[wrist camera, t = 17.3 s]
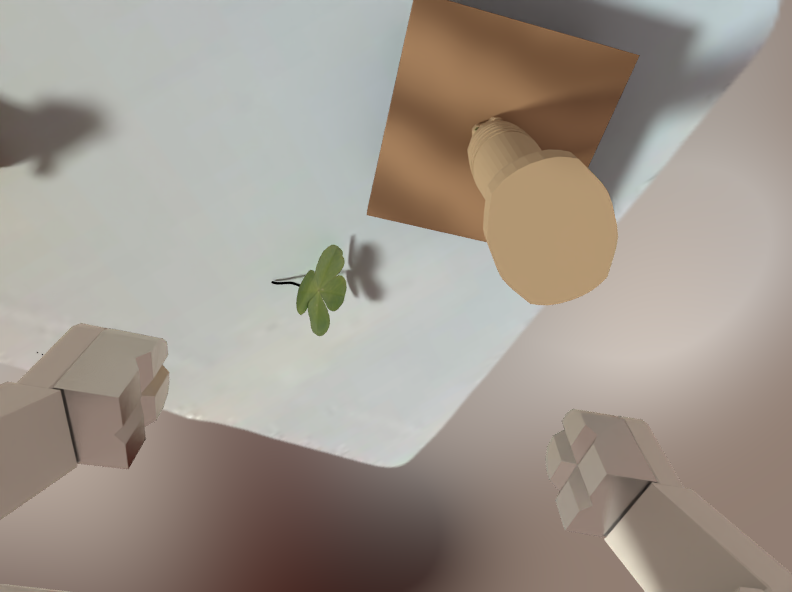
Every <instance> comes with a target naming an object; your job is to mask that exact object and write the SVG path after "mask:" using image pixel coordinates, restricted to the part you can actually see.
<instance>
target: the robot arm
mask: <svg viewBox="0 0 792 592" xmlns="http://www.w3.org/2000/svg"><path fill="white" fill-rule="evenodd" d="M167 356H168V347H167V341H165V340H164V339H163V338H157V337H152V336H147V335H142V334H137V333H132V332H127V331H122V330H116V329H111V328H109V329H108V328H103V327H98V326H93V325H88V324H83V323H80V324H77V325H75V326H73V327H71V328H70V329H69V330H68V331H67V332H66V333H65V334H64V335H63V336H62V337H61V338H60V339H59V340H58V341H57V342H56V343H55V344H54V345H53V346H52V347H51V348H50V350H49V351H48V352H47V353H46V354H45V355H44V356H43V357H42V358H41V359H40V360H39V361H38V362H37V363H36V364H35V365H34V366H33V367H32V368H31V369H30V370H29V371H28V372H27V373H26V374H25V375H24V376H23V377H22V378H21V379H20V380H19V381H18V382H17V383H12V382H5V383H3V384H0V520H1V519H2V518H4V517H5V516H7V515H8V514H10V513H11V512H13V511H14V510H15V509H17V508H18V507H20V506H21V505H23V504H24V503H25V502H27V501H28V500H30V499H31V498H33V497H34V496H36V495H37V494H39V493H40V492H41V491H43V490H44V489H46V488H47V487H49V486H50V485H51V484H53V483H54V482H56V481H57V480H59V479H60V478H62V477H63V476H64V475H66V474H67V473H69V472H70V471H72V470H73V469H75V468H76V467H77V464H85V465H94V466H103V467H112V468H120V469H129V467H130V466H131V464H132V462H133V461H134V459H135V457H136V455H137V454H138V452H139V450H140V448H141V447H142V445H143V443H144V441H145V440H146V437H145V427H146V426H148V425H149V424H151V423H153V422H154V421H156V420H157V418H158V416H159V415H160V413H161V411H162V409H163V407H164V404H165V401H166V398H167V395H168V390H169V382H170V381H169V372H168V371H167V369H166V368H165V367H164V366H163V365H162V364H163V363H164V361H165V359H166V358H167ZM562 424H563V426H564V430H563V431H561V432H559V433H557V434H555V435H553V437H552V439H551V441H550V442H549V444H548V446H547V452H546V458H545V461H546V470H547V474H548V477H549V480H550V482H551V483H552V484H553V485H554V486H555V487H556V488H557V489H558V490H559V493H558V495H557V498H556V500H555V501H556V504H557V507H558V510H559V513H560V517H561V520H562V523H563V526H564V529H565V531H569V532H575V533H581V534H587V535H593V536H599V537H604V538H605V541H606V542H607V544H608V545H609V546H610V548H611V549H612V550H613V551H614V553H615V554H616V555H617V556H618V558H619V559H620V560H621V561H622V563H623V564H624V565H625V567H626V568H627V569H628V571H629V572H630V573H631V574H632V576H633V577H634V578H635V579H636V581H637V582H638V583H639V585H640V586H641V587H642V588H643V590H644V591H645V592H792V573H791V572H789V571H788V570H787V569H786V568H785V567H784V566H782V565H781V564H780V563H779V562H777V561H776V560H775V559H774V558H773V557H772V556H770V555H769V554H768V553H767V552H766V551H765V550H763V549H762V548H761V547H760V546H759V545H757V544H756V543H755V542H754V541H753V540H751V539H750V538H749V537H748V536H747V535H746V534H744V533H743V532H742V531H741V530H740V529H738V528H737V527H736V526H735V525H734V524H733V523H731V522H730V521H729V520H728V519H727V518H725V517H724V516H723V515H722V514H721V513H720V512H718V511H717V510H716V509H715V508H713V507H712V506H711V505H710V504H709V503H708V502H706V501H705V500H704V499H703V498H701V497H700V496H699V495H698V494H697V493H696V492H695V491H693V490H692V489H690V488H684V486H683V485H682V483H681V481H680V480H679V478H678V476H677V474H676V472H675V471H674V469H673V468H672V466H671V464H670V462H669V461H668V459H667V457H666V455H665V453H664V452H663V450H662V448H661V446H660V445H659V443H658V441H657V439H656V438H655V436H654V434H653V433H652V431H651V429H650V427H649V426H648V424H647V423H645V422H644V421H643V420H641V419H635V418H628V417H622V416H614V415H607V414H601V413H595V412H589V411H583V410H576V409H572V410H570V411H569V412H568V413H567V414H566V415H565V417H564V418H563V420H562ZM0 592H69V591H60V590H51V589H42V588H33V587H24V586H15V585H6V584H0Z"/></svg>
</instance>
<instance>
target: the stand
mask: <svg viewBox="0 0 792 592" xmlns="http://www.w3.org/2000/svg"><path fill="white" fill-rule="evenodd" d="M639 56H640V55H637V54H633V53H630V52H626V51H623V50H619V49H616V48H612V47H609V46H605V45H602V44H598V43H595V42H591V41H588V40H584V39H581V38H577V37H574V36H570V35H567V34H563V33H560V32H556V31H553V30H549V29H546V28H542V27H539V26H535V25H532V24H529V23H525V22H522V21H518V20H515V19H511V18H508V17H504V16H501V15H497V14H494V13H490V12H487V11H483V10H480V9H476V8H473V7H469V6H466V5H462V4H459V3H455V2H452V1H448V0H413V4H412V8H411V13H410V18H409V22H408V27H407V31H406V36H405V40H404V45H403V49H402V54H401V59H400V63H399V68H398V72H397V77H396V81H395V86H394V90H393V95H392V100H391V104H390V109H389V113H388V118H387V122H386V127H385V131H384V136H383V141H382V145H381V150H380V154H379V159H378V163H377V168H376V172H375V177H374V182H373V186H372V191H371V195H370V200H369V204H368V210H367V215H369V216H374V217H378V218H382V219H387V220H391V221H396V222H400V223H405V224H409V225H413V226H418V227H422V228H427V229H431V230H435V231H440V232H444V233H449V234H453V235H458V236H462V237H466V238H471V239H475V240H480V241H484V242H487V241H486V238H485V235H484V231H483V220H484V207H485V199H484V197H483V195H482V194H481V192H480V191H479V189H478V187H477V185H476V183H475V181H474V178H473V175H472V172H471V169H470V164H469V158H468V151H467V149H468V146H469V143H470V140H471V138H472V128H473V127H474V126H475V125H476V124H482V123H485V122H487V121H488V120H489V119H490V118H491V117H500V118H502V120H503V121H507V122H510V123H512V124H514V125H516V126H518V127H519V128H521V129H522V130H524V131H525V132H526V133H527V134H528V135H529V136H530V137H531V138H532V139H533V140H534V141H535V142H536V143H537V144H538V146H539V147H540V149H541V150H542V151H543V150H548V149H550V150H563V151H569V152H571V153H572V154H574V155H575V156H576V157H577V158H578V159H579V160H580V161H581V162H582V163H583V164H584V165H585V166H586V167H587V168H588V166H589V164H590V162H591V160H592V158H593V155H594V153H595V151H596V149H597V147H598V145H599V142H600V140H601V138H602V136H603V134H604V132H605V129H606V127H607V125H608V123H609V121H610V119H611V116H612V114H613V112H614V110H615V108H616V106H617V103H618V101H619V99H620V97H621V95H622V93H623V90H624V88H625V86H626V84H627V82H628V80H629V77H630V75H631V73H632V71H633V69H634V67H635V64H636V62H637V60H638V58H639Z"/></svg>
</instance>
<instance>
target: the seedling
mask: <svg viewBox="0 0 792 592" xmlns="http://www.w3.org/2000/svg"><path fill="white" fill-rule="evenodd" d="M342 255H343V252H342V250H341V249H340V248H339V247H338V246H336V245H331V246H329V247H328V248H327V249H326V250H324V251H323V253H322V255H321V256H320V259H319V261H318V264H317V266H316V271H315V273H314V271H313V270H310V271H309V272H308V273H307V274H306V276H305V277H304V279H303V281H302V283H301V284H297V283H294V282H274V281H272V283H273V284H278V285H279V284H293V285H296V286H298V287H299V290H298V295H297V302H296V304H297V311H298V313H299V314H300V315H302V314H303V313H304V312H305V311H306V310H307V308H308V313H309V317H310V321H311V329H312V331H313V332H314V333H315V334H316V335H318V336H322V335H324V334H325V333H326V332H327V330H328V328H329V324H330V318H329V314H328V310H327V308H326V305H327V307H328V309H329V310H331V311H336V310H337V309H338V308H339V307H340V306H341V305H342V303H343V301H344V297H345V293H346V281H345V279H344V278H343V276H339V275H338V276H336V275H337V274H338V273H339V272H340V271H341V270H342V268H343V266H344V262H345V261H344V258H343V256H342ZM322 298H323V299H322ZM323 300H324V301H323ZM324 302H325V303H326V305H325V303H324Z"/></svg>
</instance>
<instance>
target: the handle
mask: <svg viewBox="0 0 792 592" xmlns="http://www.w3.org/2000/svg"><path fill="white" fill-rule="evenodd" d="M467 151H468V158H469V164H470V169H471V172H472V175H473V178H474V181H475V183H476V185H477V187H478V189H479V191H480V192H481V194H482V195H483V197H484V199H485V207H484V220H483V231H484V235H485V238H486V241H487V243H488V246H489V249H490V251H491V254H492V257H493V259H494V262H495V265H496V267H497V270H498V272H499V274H500V276H501V277H502V279H503V280H504V281H505V282H506V283H507V284H508V286H509V287H511V288H512V289H513V290H514V291H515V292H517V293H518V294H519V295H520V296H521V297H523V298H524V299H525V300H526V301H528V302H529V303H530V304H536V305H553V304H559V303H563V302H567V301H570V300H573V299H575V298H578V297H580V296H583V295H584V294H586V293H588V292H590V291H592V290H593V289H594V288H596V287H597V286H598V285H599V284H601V283H602V282H603V281H604V280H605V279H606V277H607V276H608V272H609V270H610V266H611V263H612V260H613V257H614V253H615V249H616V245H617V239H618V233H617V224H616V219H615V214H614V210H613V205H612V202H611V199H610V196H609V193H608V191H607V190H606V188H605V187H604V185H603V184H602V183H601V181H600V180H599V179H598V178H597V177H596V176H595V175H594V174H593V173H592V172H591V171H590V170H589V169H588V168H587V167H586V166H585V165H584V164H583V163H582V162H581V161H580V160H579V159H578V158H577V157H576V156H575V155H574V154H572V153H571V152H569V151H563V150H550V149H548V150H543V151H542V150H541V149H540V147H539V146H538V144H537V143H536V142H535V141H534V140H533V139H532V138H531V137H530V136H529V135H528V134H527V133H526V132H525V131H524V130H522V129H521V128H519V127H518V126H516V125H514V124H512V123H510V122H507V121H503V120H502V118H500V117H491V118H490V119H489V120H488V121H487V122H485V123H482V124H476V125H475V126H474V127H473V128H472V138H471V140H470V143H469V146H468V149H467Z"/></svg>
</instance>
